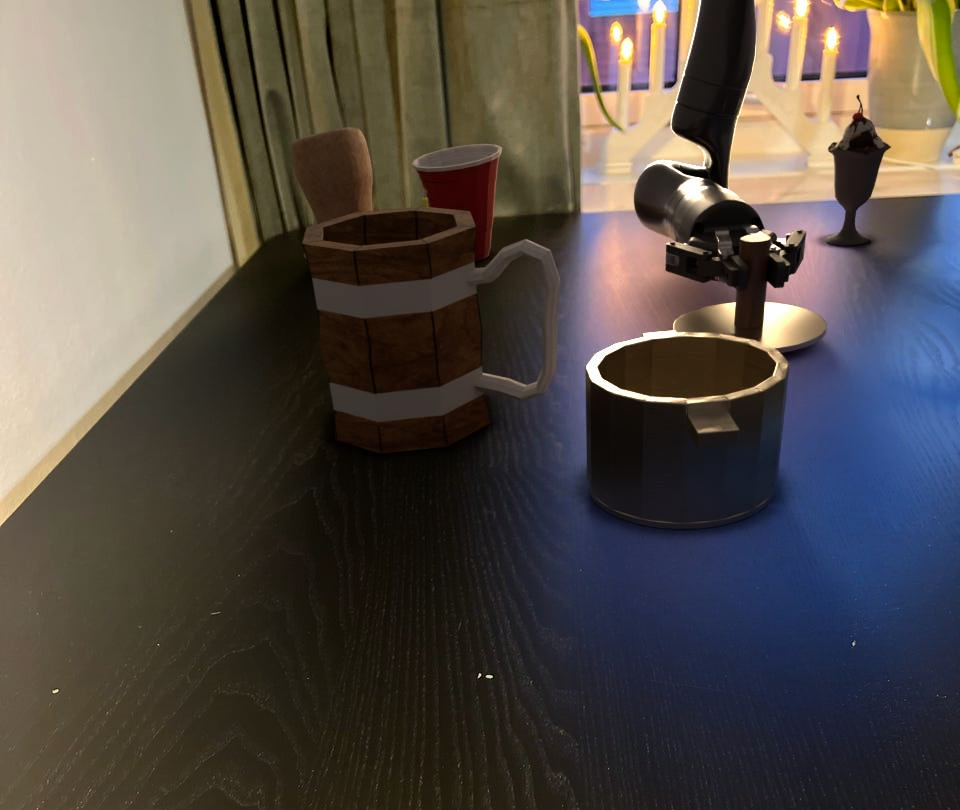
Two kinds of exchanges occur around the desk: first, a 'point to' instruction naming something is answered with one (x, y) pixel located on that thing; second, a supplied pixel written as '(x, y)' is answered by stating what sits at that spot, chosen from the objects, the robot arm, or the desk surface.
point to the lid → (756, 309)
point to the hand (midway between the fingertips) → (762, 277)
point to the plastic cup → (464, 185)
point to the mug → (413, 325)
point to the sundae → (855, 173)
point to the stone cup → (334, 172)
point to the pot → (684, 428)
